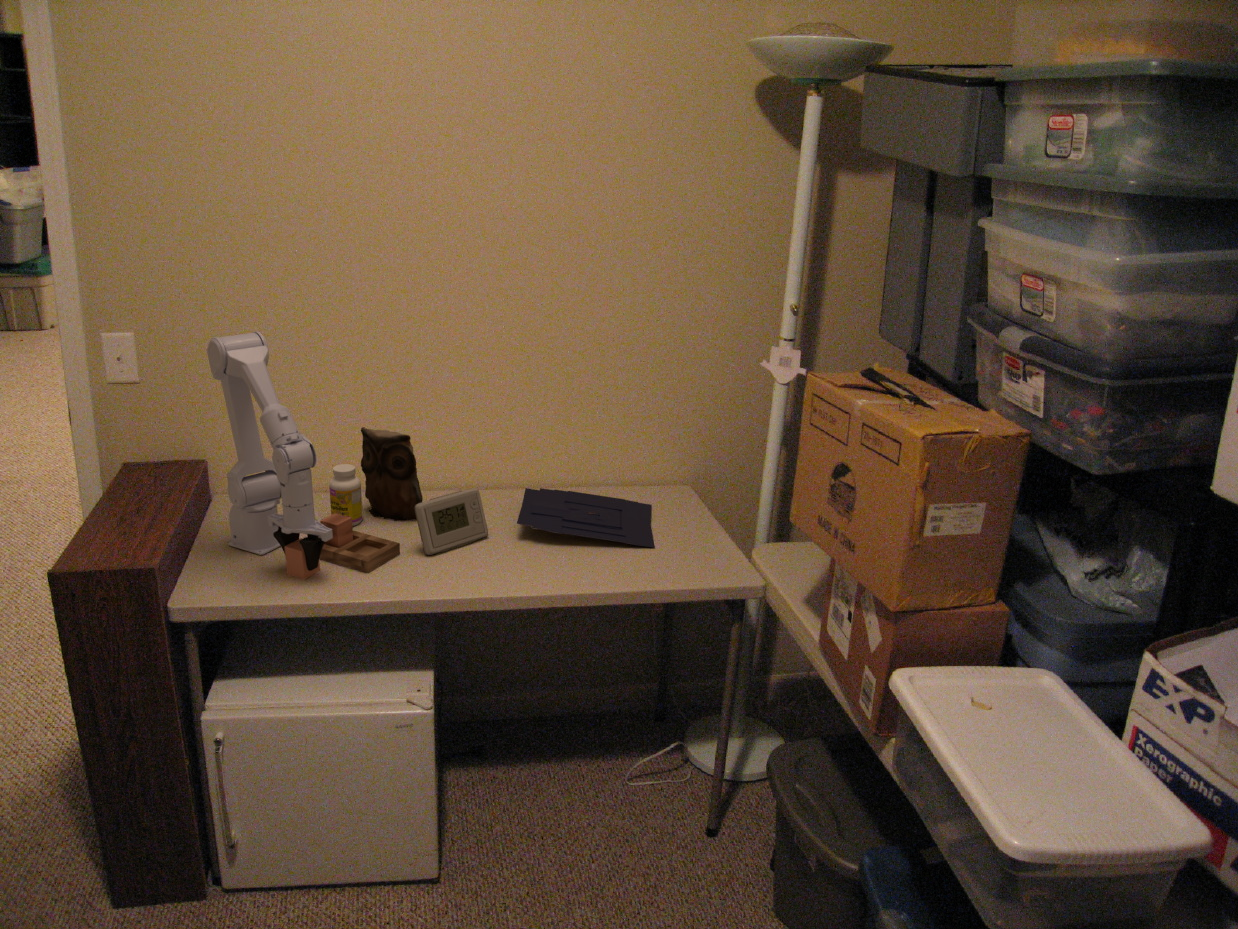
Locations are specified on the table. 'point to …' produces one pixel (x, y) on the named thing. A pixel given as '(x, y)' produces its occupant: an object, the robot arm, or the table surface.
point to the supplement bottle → (346, 493)
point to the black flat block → (587, 516)
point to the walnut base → (355, 546)
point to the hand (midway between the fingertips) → (303, 565)
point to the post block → (297, 561)
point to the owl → (390, 474)
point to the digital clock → (451, 521)
